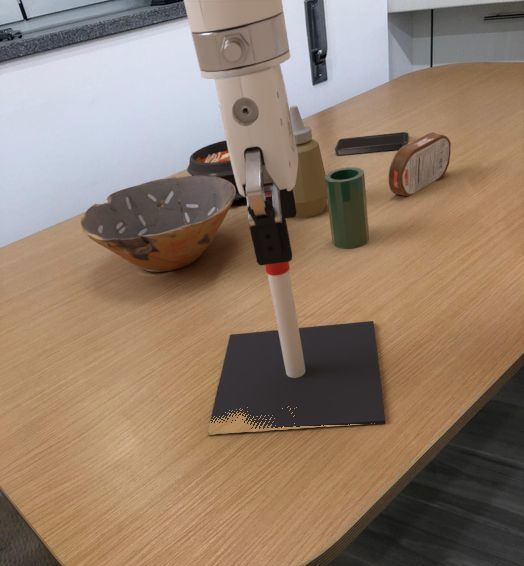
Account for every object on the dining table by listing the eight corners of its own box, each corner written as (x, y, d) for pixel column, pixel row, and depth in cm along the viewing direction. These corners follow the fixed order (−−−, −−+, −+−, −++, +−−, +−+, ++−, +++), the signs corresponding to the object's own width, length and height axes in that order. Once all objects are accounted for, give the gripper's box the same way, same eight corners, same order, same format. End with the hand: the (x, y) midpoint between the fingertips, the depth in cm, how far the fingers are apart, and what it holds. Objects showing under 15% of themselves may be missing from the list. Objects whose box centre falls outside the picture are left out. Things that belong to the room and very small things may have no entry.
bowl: (228, 294, 86) (213, 230, 80) (74, 303, 92) (50, 244, 86) (260, 221, 106) (249, 165, 100) (131, 232, 112) (115, 180, 106)
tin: (438, 172, 110) (438, 125, 106) (454, 174, 108) (454, 126, 103) (387, 202, 103) (385, 153, 98) (403, 205, 101) (401, 155, 96)
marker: (306, 364, 68) (285, 235, 59) (306, 377, 66) (284, 246, 57) (285, 366, 69) (262, 238, 60) (284, 379, 67) (259, 249, 58)
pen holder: (368, 233, 94) (363, 165, 88) (370, 249, 90) (365, 178, 83) (332, 238, 95) (324, 170, 89) (333, 254, 91) (324, 183, 84)
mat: (373, 324, 73) (373, 320, 73) (385, 424, 59) (385, 420, 59) (230, 337, 76) (230, 334, 76) (208, 435, 62) (207, 432, 62)
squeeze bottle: (296, 203, 110) (281, 101, 99) (337, 204, 106) (326, 98, 96) (277, 222, 104) (259, 115, 94) (321, 224, 100) (307, 113, 90)
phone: (406, 143, 123) (334, 150, 127) (407, 148, 123) (334, 155, 128) (408, 131, 129) (339, 138, 133) (408, 136, 129) (339, 143, 134)
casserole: (161, 212, 118) (149, 170, 113) (198, 177, 132) (189, 139, 127) (280, 208, 109) (273, 163, 104) (307, 171, 123) (302, 129, 118)
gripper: (281, 59, 41) (316, 277, 51) (292, 22, 55) (318, 198, 65) (176, 79, 42) (230, 288, 52) (213, 38, 56) (250, 208, 66)
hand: (278, 238), depth 58 cm, fingers open, 9 cm apart
